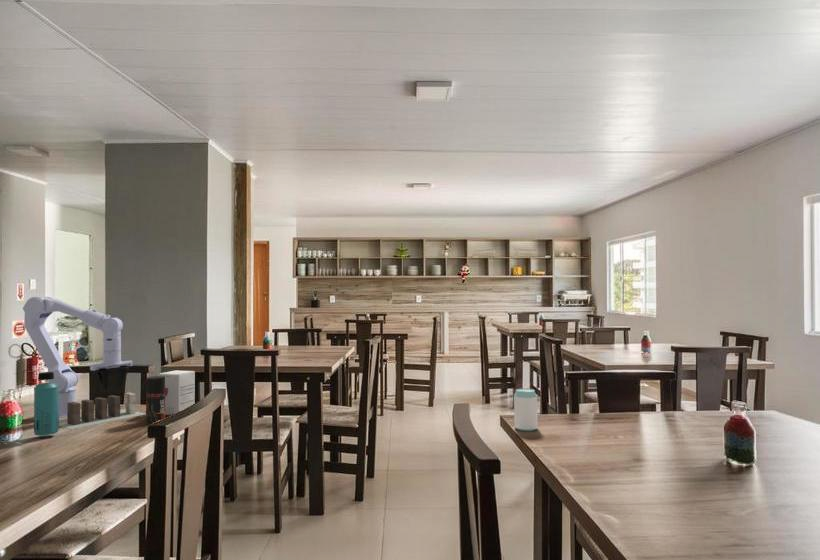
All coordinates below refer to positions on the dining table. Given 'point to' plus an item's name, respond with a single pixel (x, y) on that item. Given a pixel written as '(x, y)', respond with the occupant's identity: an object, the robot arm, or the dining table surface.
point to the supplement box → (178, 390)
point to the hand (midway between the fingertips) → (112, 387)
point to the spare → (130, 403)
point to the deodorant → (155, 398)
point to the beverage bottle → (46, 406)
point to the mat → (98, 421)
